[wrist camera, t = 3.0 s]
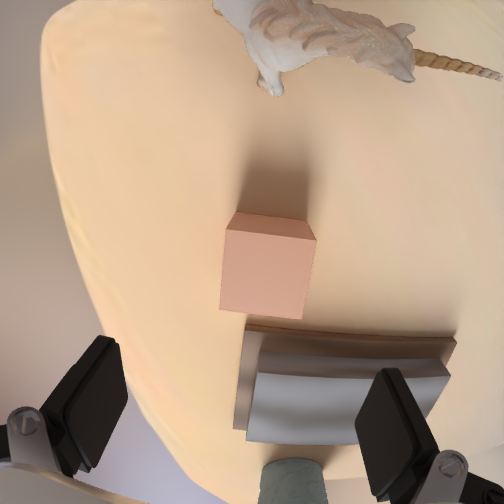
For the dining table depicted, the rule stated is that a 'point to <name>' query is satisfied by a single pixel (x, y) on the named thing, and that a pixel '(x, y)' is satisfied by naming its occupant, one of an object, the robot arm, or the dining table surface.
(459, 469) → the robot arm
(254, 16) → the unicorn figurine
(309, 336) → the board
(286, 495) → the grey green cup
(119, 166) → the dining table surface
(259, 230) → the terracotta cube
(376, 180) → the dining table surface
